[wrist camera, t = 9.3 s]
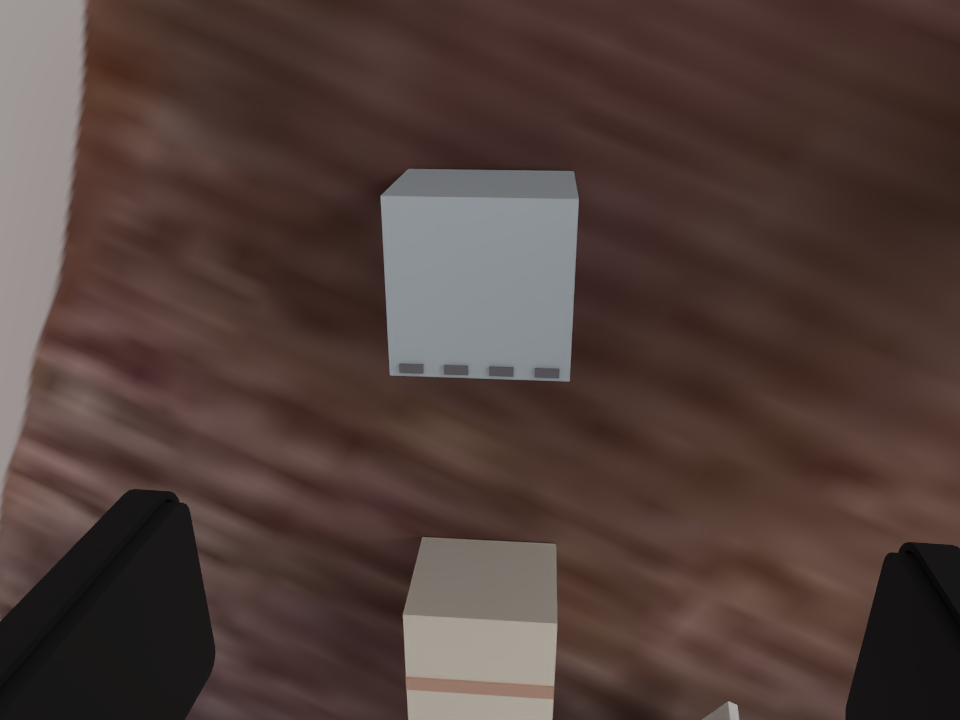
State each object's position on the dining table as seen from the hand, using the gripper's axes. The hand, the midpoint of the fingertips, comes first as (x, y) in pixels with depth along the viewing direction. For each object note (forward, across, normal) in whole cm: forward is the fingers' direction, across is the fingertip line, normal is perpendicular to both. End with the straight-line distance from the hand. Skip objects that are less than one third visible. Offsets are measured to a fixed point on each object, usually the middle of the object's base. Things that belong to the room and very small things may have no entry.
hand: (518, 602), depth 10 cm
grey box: (+20, +2, +1) cm, 20 cm away
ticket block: (+20, +2, +22) cm, 29 cm away
